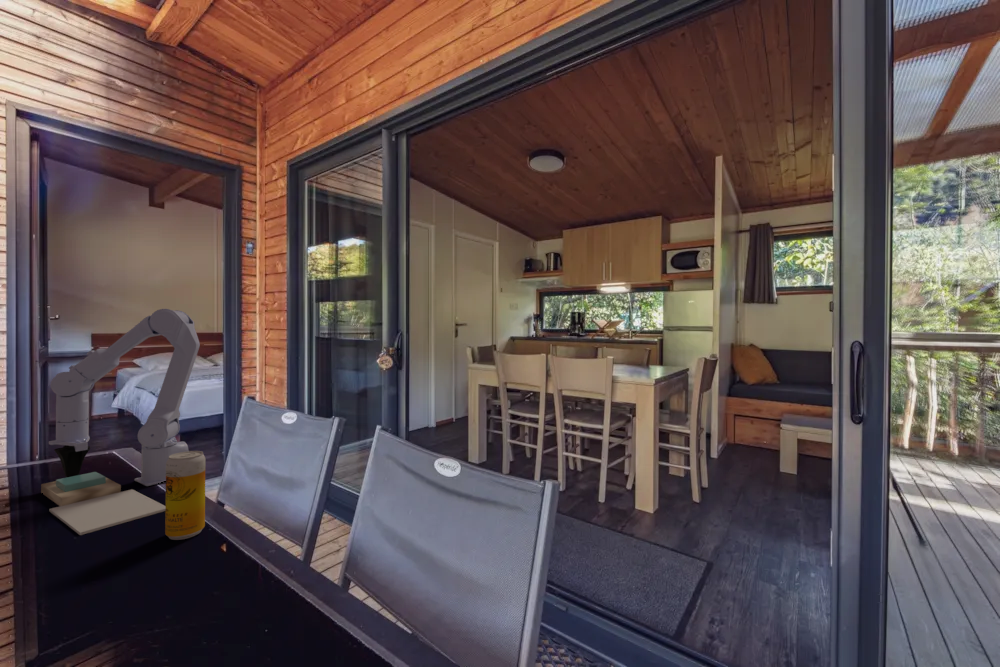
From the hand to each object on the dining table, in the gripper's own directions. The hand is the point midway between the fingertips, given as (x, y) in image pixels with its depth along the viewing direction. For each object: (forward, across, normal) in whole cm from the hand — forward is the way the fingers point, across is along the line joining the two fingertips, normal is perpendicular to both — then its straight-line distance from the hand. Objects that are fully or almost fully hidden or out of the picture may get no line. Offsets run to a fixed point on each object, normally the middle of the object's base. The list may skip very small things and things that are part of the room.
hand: (72, 476), depth 106 cm
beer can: (+3, +51, +4) cm, 51 cm away
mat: (+3, +25, 0) cm, 25 cm away
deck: (+3, +7, 0) cm, 7 cm away
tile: (+1, +7, 0) cm, 7 cm away
